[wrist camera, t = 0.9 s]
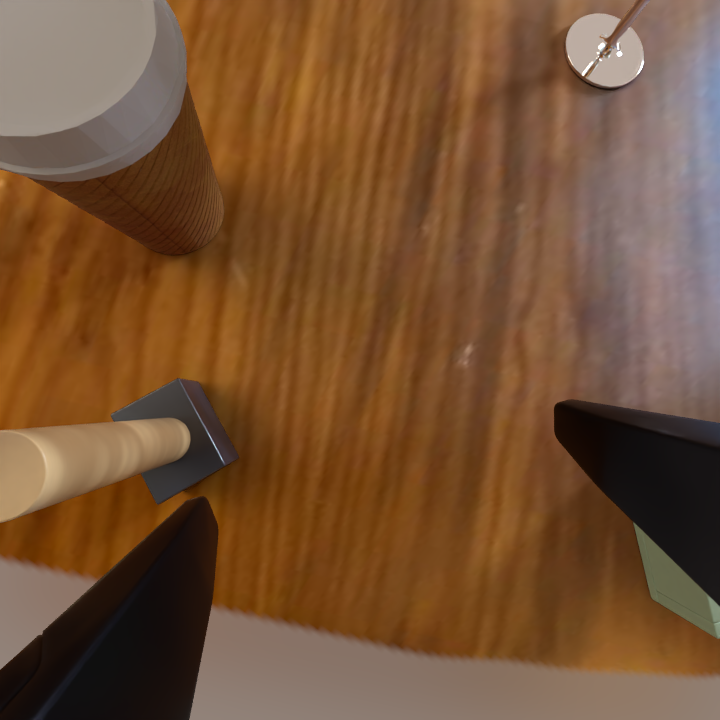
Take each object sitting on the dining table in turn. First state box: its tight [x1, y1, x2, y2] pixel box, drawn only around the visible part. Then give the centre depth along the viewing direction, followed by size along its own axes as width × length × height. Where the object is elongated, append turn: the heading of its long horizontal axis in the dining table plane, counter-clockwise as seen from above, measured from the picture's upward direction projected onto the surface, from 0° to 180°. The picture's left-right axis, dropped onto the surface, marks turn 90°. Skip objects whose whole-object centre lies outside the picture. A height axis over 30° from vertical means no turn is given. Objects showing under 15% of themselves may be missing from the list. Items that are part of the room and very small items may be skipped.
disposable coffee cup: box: [0, 0, 224, 255], centre depth 18 cm, size 10×10×12 cm
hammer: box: [0, 378, 239, 523], centre depth 16 cm, size 6×4×13 cm
